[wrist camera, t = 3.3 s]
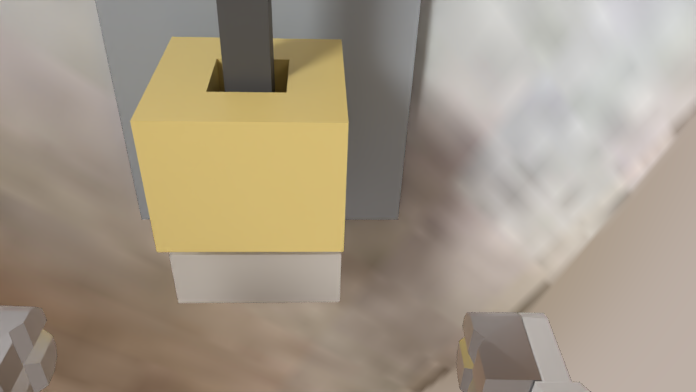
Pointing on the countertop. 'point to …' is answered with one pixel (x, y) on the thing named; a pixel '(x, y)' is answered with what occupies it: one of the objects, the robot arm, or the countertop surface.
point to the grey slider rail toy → (258, 76)
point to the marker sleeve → (245, 151)
